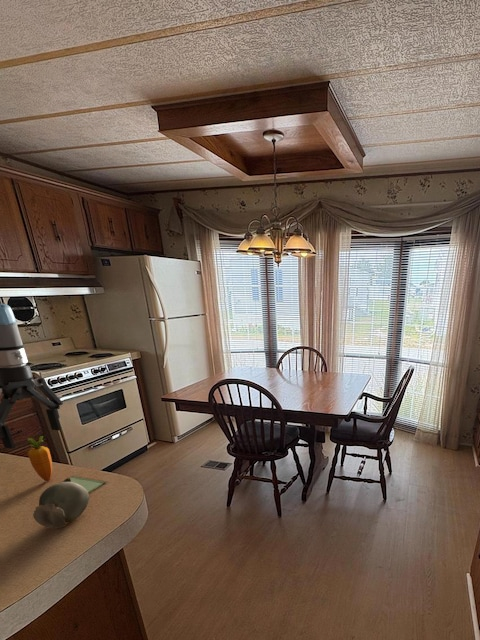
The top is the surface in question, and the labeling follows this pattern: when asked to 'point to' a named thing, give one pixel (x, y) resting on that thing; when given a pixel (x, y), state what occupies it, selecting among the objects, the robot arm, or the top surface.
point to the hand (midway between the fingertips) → (34, 438)
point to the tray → (87, 483)
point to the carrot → (40, 459)
